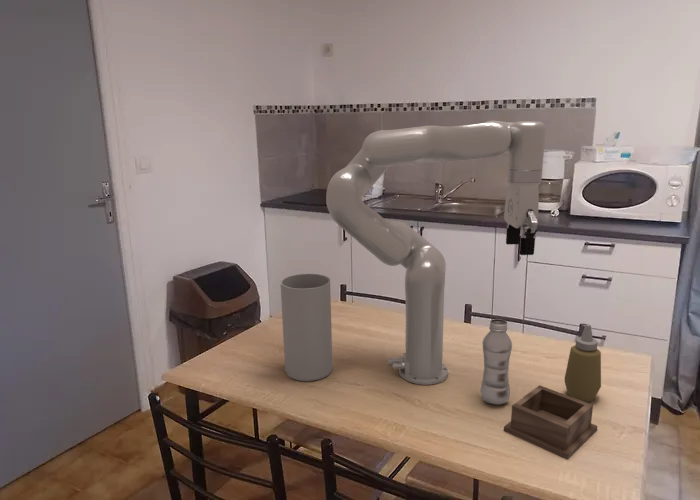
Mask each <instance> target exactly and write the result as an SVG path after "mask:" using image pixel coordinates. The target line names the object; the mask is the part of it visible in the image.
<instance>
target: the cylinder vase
mask: <svg viewBox="0 0 700 500" xmlns="http://www.w3.org/2000/svg"><path fill="white" fill-rule="evenodd" d="M280 296H281V297H280V299H281V318H282V321H281V322H282V336H283V337H282V339H283V354H284V355H283V357H284V372H285V374H286V375H287V376H288V377H289V378H291V379H293V380H295V381H299V382H312V381H313V382H315V381H319V380H322V379H324V378H326V377H327V376H329V375H330V374H331V372H332V371H333V341H332V339H333V337H332V335H333V334H332V333H333V332H332V304H331V303H332V301H331V300H332V298H331V297H332V295H331V279H330V277H328V276H326V275H323V274H319V273H298V274H293V275H288V276H286V277H284V278H282V279H281V280H280Z"/></svg>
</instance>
